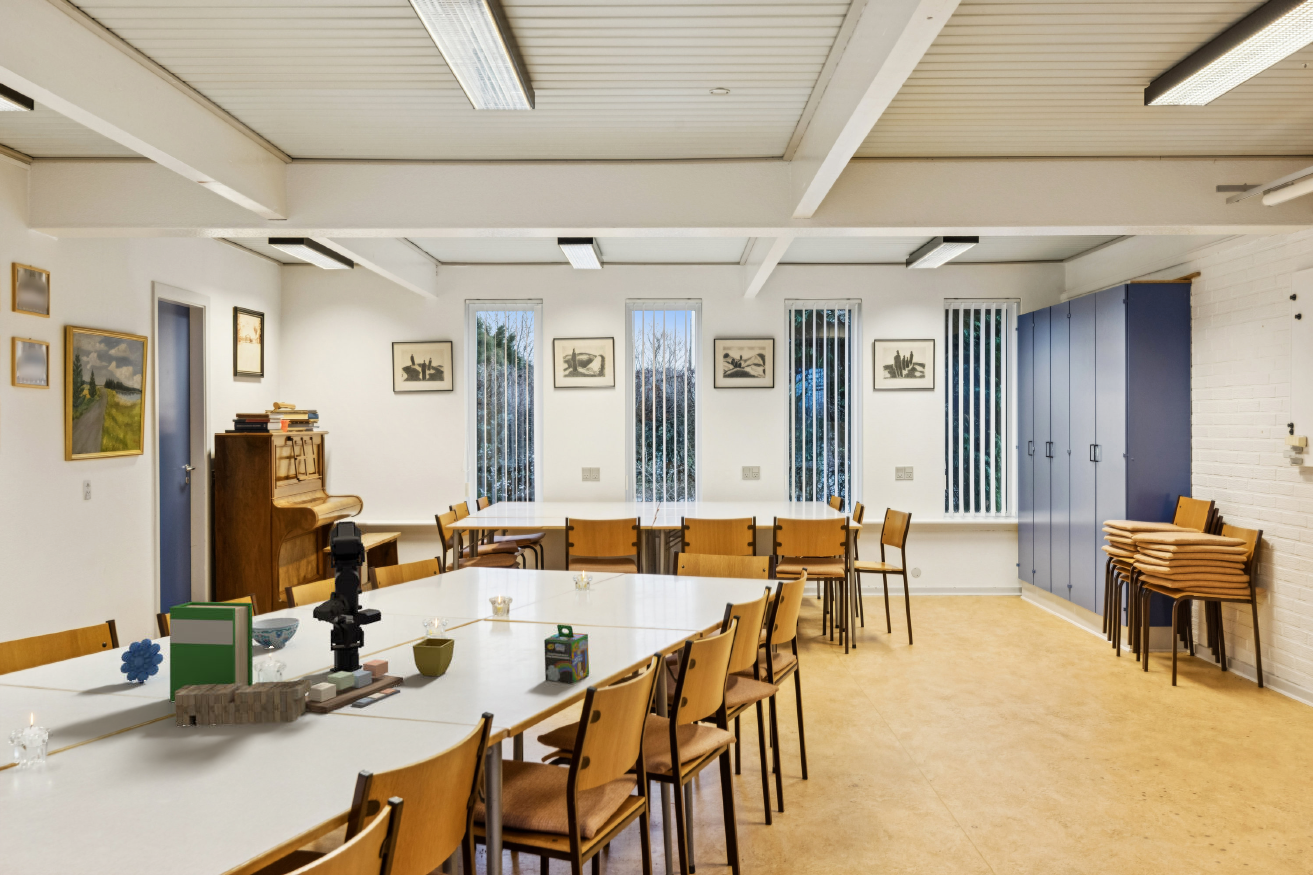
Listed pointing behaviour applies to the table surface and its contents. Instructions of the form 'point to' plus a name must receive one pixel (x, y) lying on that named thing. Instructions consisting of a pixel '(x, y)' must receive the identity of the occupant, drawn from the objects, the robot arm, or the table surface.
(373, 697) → the strip
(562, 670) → the chalk box
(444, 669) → the flower pot
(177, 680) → the hardback book
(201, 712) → the block tower
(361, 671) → the key slate
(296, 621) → the chinaware
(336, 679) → the key sage
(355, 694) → the brown wooden board
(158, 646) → the blue flower ornament
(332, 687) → the key cream
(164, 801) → the table surface
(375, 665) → the key terracotta
